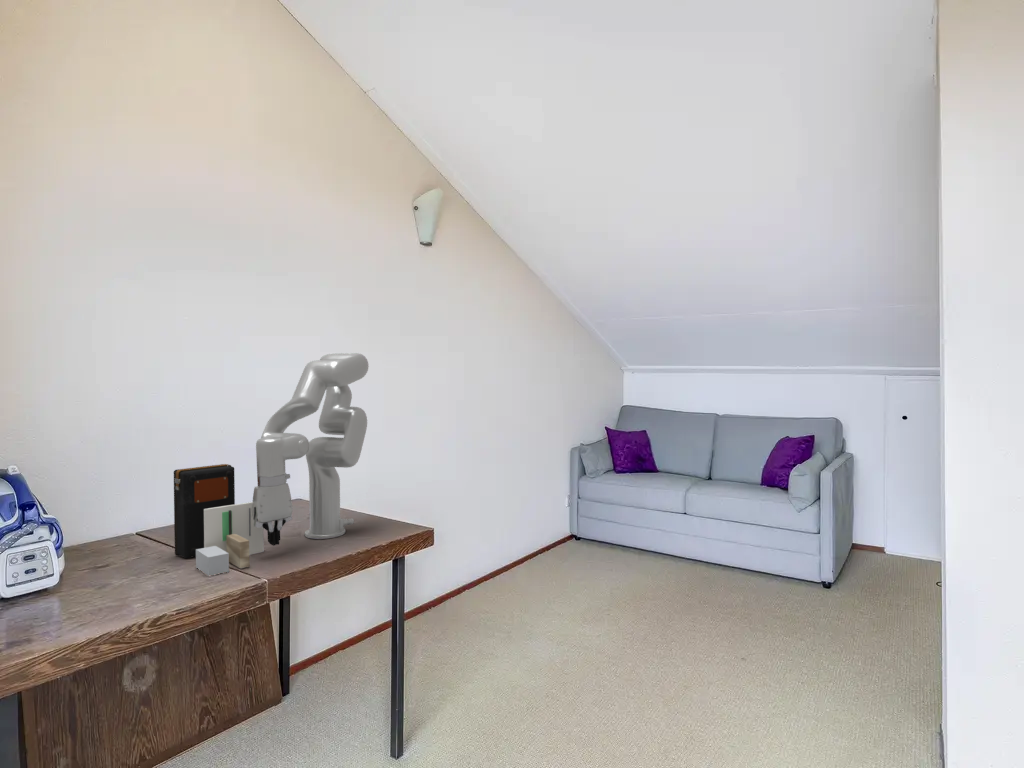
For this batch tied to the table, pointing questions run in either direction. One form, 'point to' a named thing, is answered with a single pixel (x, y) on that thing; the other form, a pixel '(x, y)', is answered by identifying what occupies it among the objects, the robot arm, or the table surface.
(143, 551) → the table surface
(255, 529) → the white board with blocks
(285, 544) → the table surface
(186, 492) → the voltmeter
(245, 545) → the tall beige wooden block
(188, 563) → the table surface
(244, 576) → the table surface
